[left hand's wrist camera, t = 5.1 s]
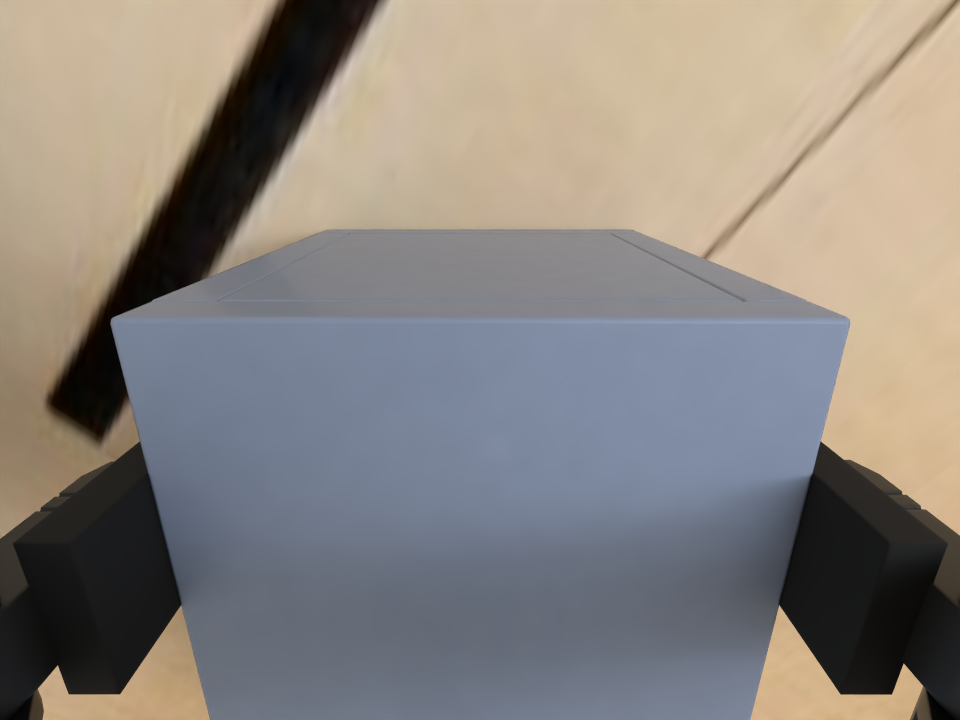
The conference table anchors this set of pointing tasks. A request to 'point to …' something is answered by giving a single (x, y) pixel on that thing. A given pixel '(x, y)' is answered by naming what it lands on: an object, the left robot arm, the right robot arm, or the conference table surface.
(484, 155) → the conference table surface
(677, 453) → the cabinet
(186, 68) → the conference table surface
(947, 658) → the left robot arm
